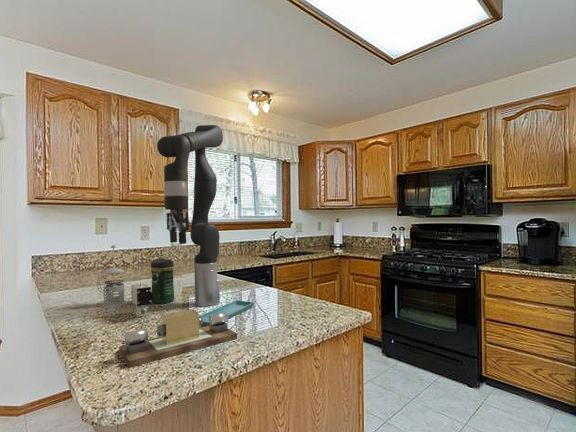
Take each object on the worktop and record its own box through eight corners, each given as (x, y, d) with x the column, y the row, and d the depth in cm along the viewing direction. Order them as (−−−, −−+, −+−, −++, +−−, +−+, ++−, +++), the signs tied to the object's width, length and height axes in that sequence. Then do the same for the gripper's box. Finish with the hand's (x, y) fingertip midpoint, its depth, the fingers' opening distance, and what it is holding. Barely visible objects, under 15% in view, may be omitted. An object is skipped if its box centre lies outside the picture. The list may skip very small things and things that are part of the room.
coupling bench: (219, 328, 105) (218, 307, 105) (237, 338, 96) (236, 316, 96) (119, 351, 87) (119, 327, 88) (129, 367, 78) (128, 340, 78)
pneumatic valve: (138, 320, 115) (138, 286, 115) (131, 313, 124) (130, 281, 124) (155, 317, 118) (154, 284, 118) (146, 310, 127) (146, 279, 127)
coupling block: (198, 332, 97) (197, 308, 97) (204, 336, 93) (203, 311, 93) (156, 341, 90) (155, 316, 90) (160, 346, 86) (160, 320, 86)
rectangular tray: (213, 329, 106) (212, 321, 106) (191, 325, 110) (191, 318, 110) (255, 308, 129) (255, 302, 129) (235, 306, 133) (235, 300, 133)
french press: (119, 307, 133) (118, 245, 133) (91, 307, 133) (90, 246, 134) (131, 301, 143) (130, 244, 143) (105, 301, 143) (104, 244, 143)
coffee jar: (177, 301, 141) (176, 258, 141) (160, 305, 135) (160, 260, 135) (164, 298, 147) (164, 257, 147) (148, 301, 141) (147, 258, 141)
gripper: (195, 193, 107) (197, 243, 107) (179, 196, 118) (181, 241, 119) (172, 193, 102) (174, 245, 103) (158, 196, 114) (160, 243, 114)
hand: (178, 243), depth 111 cm, fingers open, 8 cm apart
